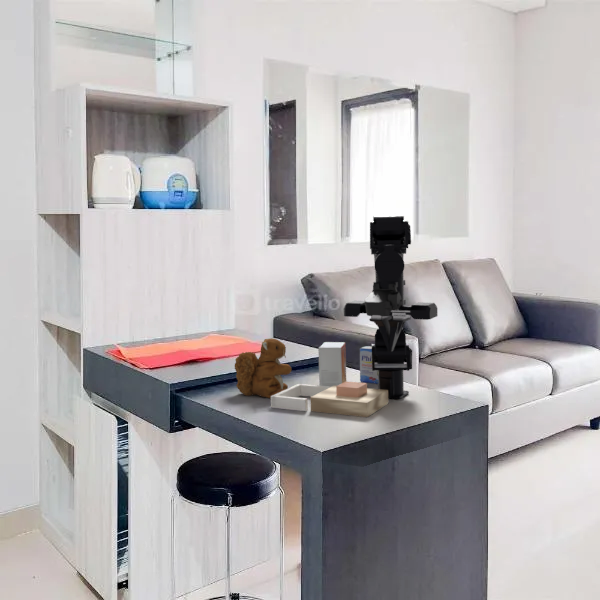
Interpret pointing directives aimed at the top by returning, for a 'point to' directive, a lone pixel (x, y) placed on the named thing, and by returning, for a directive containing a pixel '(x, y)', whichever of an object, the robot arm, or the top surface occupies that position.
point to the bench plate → (349, 402)
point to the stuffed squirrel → (262, 370)
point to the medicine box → (367, 366)
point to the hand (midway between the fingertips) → (390, 351)
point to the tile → (351, 389)
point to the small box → (332, 363)
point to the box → (295, 397)
